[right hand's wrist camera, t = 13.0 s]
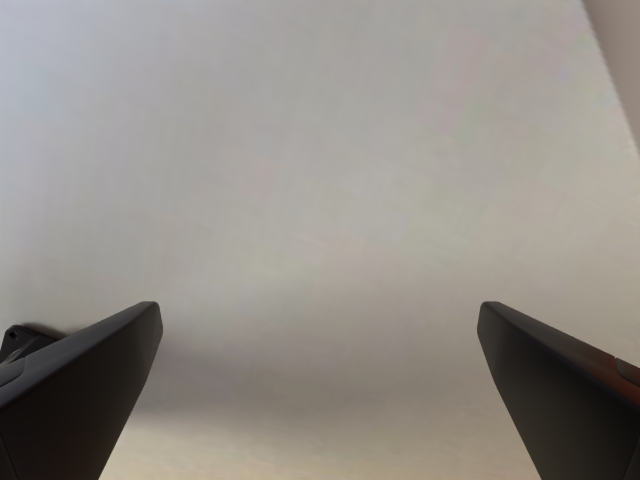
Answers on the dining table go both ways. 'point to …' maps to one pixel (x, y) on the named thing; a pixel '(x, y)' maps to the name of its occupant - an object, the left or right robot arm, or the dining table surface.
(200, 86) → the dining table surface
